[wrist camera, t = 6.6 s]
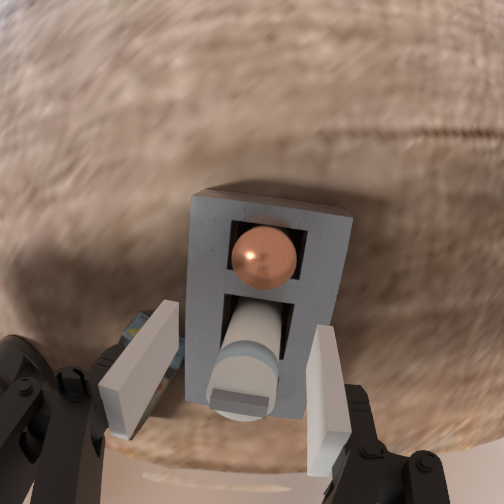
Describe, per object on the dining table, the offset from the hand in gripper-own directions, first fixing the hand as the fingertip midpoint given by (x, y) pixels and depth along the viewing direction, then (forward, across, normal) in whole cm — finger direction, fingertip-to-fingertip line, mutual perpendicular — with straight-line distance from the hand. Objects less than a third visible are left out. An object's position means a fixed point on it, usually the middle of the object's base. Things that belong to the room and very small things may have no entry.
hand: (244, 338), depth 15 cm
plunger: (+18, 0, 0) cm, 18 cm away
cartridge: (+19, 0, -8) cm, 21 cm away
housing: (+19, 0, -8) cm, 21 cm away
